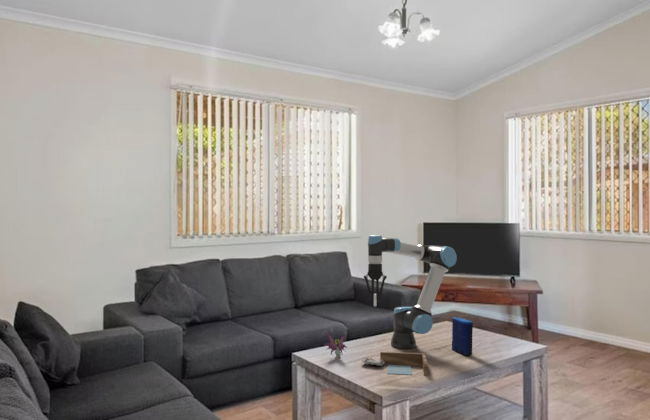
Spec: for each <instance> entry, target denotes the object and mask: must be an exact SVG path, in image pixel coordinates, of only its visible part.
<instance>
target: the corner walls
mask: <svg viewBox="0 0 650 420" xmlns="http://www.w3.org/2000/svg"><path fill="white" fill-rule="evenodd" d="M379 355H380V356H379V357H380V358H379V360H380V359H382V360H383V361H384V362H385V363H384V364H383V365H404V366H422V372H423V376H425V377H427V376H428V360H427V356H426V353H424V352H423V353H422V352H421V353H420V352H402V351H401V352H397V351H380V353H379Z"/></svg>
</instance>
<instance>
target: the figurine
mask: <svg viewBox="0 0 650 420" xmlns="http://www.w3.org/2000/svg"><path fill="white" fill-rule="evenodd" d="M324 333H325V335H326V337H327V340H328V341H329V342H326V343H325V344H323V346H327V348H326V349H325V351H326V350H330V355H333V352H334V354H335V355H336V356H335V357H334V359H335V360H338V359H339V358H340V356H343V355H344V353H343V351H344V352H346V349H347V348H348V346H346V344H344V341H345V339H346V336H347V335H348V333H345V334H344V335H343V336H342V337H341V338H340V339H338V338H336V339H335V340H334V339H333V336H331V335H330V334H328V333H327V332H326V331H324ZM344 348H346V349H344Z"/></svg>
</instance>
